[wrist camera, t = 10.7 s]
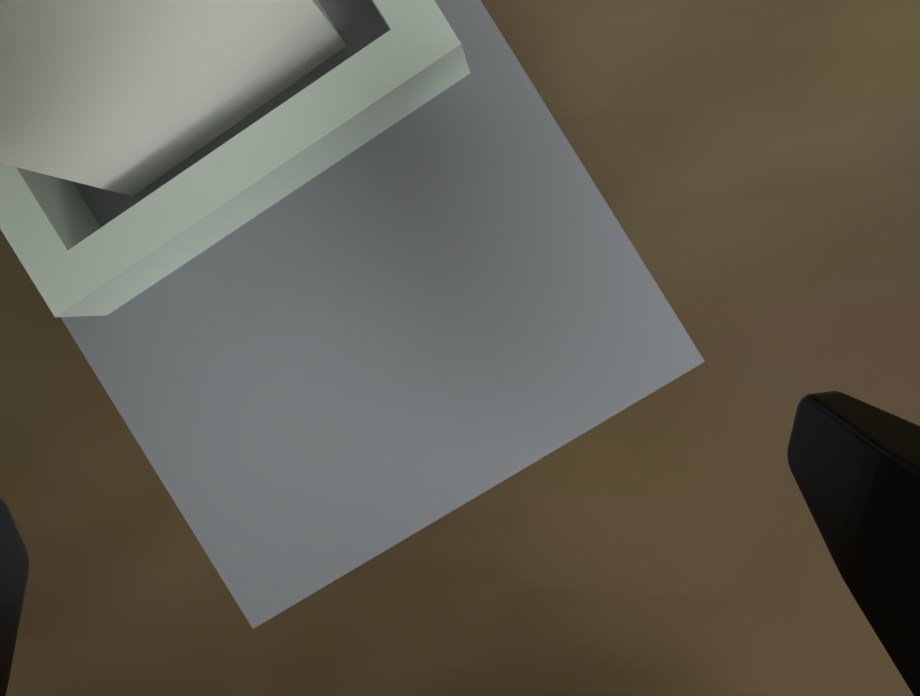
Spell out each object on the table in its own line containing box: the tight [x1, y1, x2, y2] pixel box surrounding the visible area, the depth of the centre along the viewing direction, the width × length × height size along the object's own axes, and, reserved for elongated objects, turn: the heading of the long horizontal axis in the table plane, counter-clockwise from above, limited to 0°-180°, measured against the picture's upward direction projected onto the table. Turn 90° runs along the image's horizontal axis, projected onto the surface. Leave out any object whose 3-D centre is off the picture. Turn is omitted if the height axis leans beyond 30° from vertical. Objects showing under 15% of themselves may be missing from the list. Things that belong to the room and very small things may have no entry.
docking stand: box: [0, 0, 705, 629], centre depth 17 cm, size 18×12×3 cm, turn 32°
